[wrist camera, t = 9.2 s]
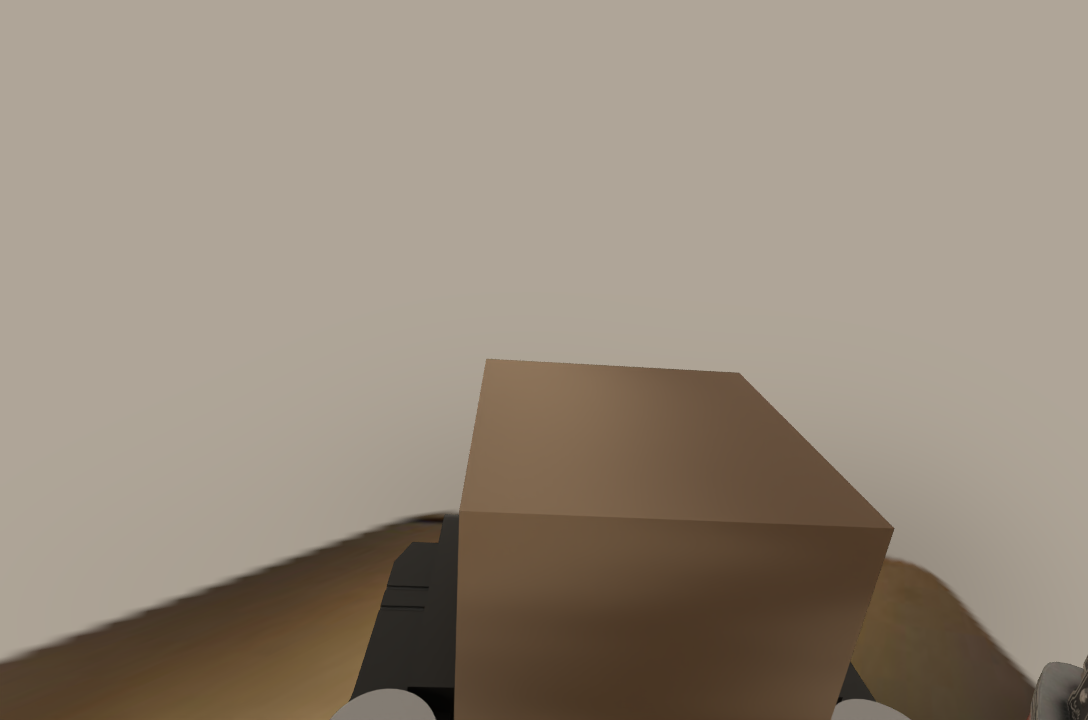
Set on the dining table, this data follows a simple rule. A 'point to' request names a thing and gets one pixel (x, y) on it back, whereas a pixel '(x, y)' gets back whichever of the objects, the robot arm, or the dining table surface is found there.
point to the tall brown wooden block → (653, 552)
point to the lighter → (1061, 693)
